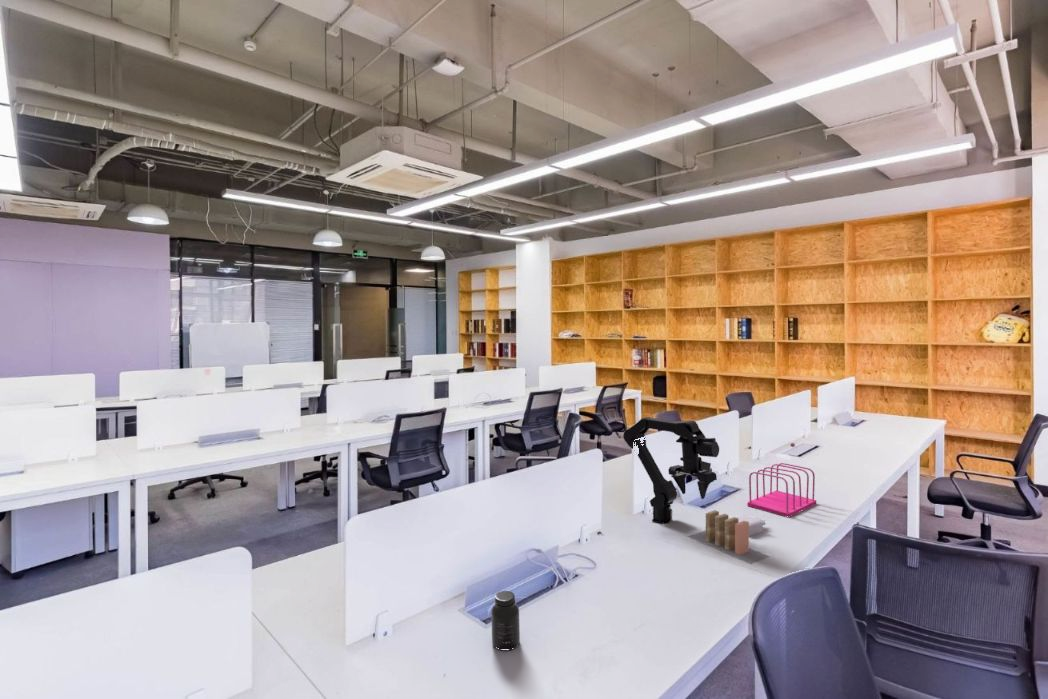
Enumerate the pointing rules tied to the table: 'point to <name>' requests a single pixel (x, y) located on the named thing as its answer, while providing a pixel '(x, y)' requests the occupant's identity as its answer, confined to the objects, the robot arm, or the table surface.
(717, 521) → the domino
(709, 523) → the domino
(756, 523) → the charger
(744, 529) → the domino
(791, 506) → the file sorter
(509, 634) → the supplement bottle
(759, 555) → the domino mat
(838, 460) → the table surface
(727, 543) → the domino
